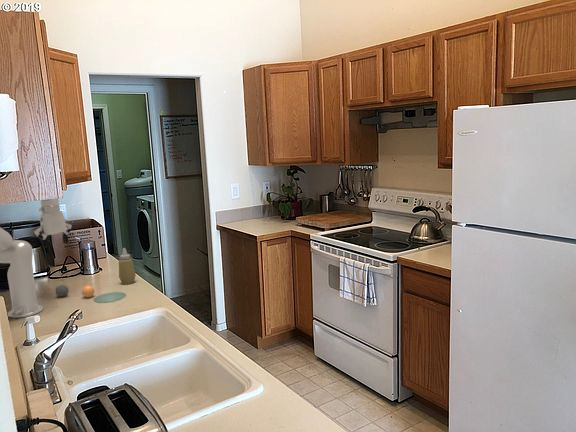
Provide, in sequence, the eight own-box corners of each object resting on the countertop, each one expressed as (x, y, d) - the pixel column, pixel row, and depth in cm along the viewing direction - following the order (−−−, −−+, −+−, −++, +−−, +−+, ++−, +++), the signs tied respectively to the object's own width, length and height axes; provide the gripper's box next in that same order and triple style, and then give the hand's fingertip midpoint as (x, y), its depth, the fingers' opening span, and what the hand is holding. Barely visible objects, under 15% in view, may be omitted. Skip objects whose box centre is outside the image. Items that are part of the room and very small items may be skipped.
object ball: (92, 298, 216) (90, 287, 215) (80, 299, 216) (78, 287, 215) (97, 294, 221) (95, 283, 220) (85, 295, 221) (84, 284, 221)
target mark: (118, 302, 209) (118, 301, 209) (88, 303, 210) (87, 303, 210) (130, 292, 223) (130, 291, 223) (101, 293, 223) (101, 292, 223)
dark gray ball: (65, 298, 219) (64, 286, 218) (54, 298, 219) (52, 287, 218) (71, 294, 224) (69, 283, 224) (60, 294, 225) (58, 283, 224)
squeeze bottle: (122, 286, 233) (117, 250, 230) (117, 282, 239) (113, 248, 236) (138, 282, 237) (134, 248, 234) (133, 279, 244) (130, 245, 241)
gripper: (35, 212, 210) (41, 250, 212) (72, 207, 223) (77, 242, 226) (27, 212, 214) (33, 248, 217) (64, 206, 228) (69, 241, 231)
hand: (55, 245), depth 221 cm, fingers open, 9 cm apart
